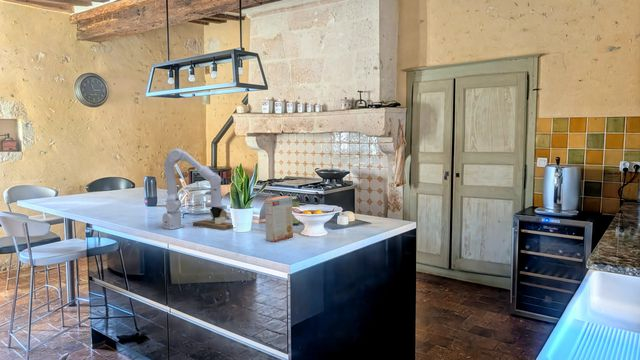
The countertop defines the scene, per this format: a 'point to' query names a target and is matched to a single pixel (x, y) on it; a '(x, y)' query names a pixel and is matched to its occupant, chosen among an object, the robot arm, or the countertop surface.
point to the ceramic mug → (221, 214)
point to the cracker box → (278, 218)
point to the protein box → (295, 204)
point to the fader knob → (219, 220)
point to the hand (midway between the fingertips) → (216, 220)
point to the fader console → (213, 224)
